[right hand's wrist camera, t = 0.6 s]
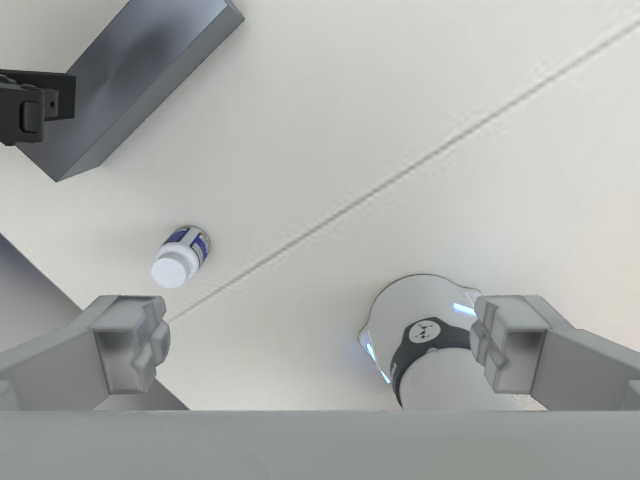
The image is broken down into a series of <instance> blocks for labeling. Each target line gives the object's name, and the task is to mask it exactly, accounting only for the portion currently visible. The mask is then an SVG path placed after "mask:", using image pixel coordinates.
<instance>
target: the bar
mask: <svg viewBox="0 0 640 480" xmlns="http://www.w3.org/2000/svg"><path fill="white" fill-rule="evenodd" d="M244 20H245V18H244V17H243V16H242V14H241V13H240V12H239V10H238V9H237V8H236V7H235V5H234V4H233V3H232V2H231V0H130V1H129V2H128V3H127V4H126V5H125V6H124V8H123V9H122V10H121V11H120V12H119V13H118V14H117V15H116V17H115V18H114V19H113V20H112V21H111V22H110V23H109V25H108V26H107V27H106V28H105V29H104V30H103V31H102V32H101V34H100V35H99V36H98V37H97V38H96V39H95V40H94V41H93V43H92V44H91V45H90V46H89V47H88V48H87V49H86V50H85V52H84V53H83V54H82V55H81V56H80V57H79V58H78V60H77V61H76V62H75V63H74V64H73V65H72V66H71V67H70V69H69V70H68V71H67V72H66V73H65V74H69V75H72V76H76V96H75V116H74V118H72V119H64V120H55V121H46V122H44V141H43V142H35V143H26V142H16V145H15V146H16V147H17V148H18V149H20V150H21V151H22V152H23V153H24V154H25V155H26V156H27V157H28V158H30V159H31V160H32V161H33V162H34V163H35V164H36V165H37V166H38V167H39V168H41V169H42V170H43V171H44V172H45V173H46V174H47V175H48V176H49V177H50V178H52V179H53V180H54V181H55V182H59V181H62V180H64V179H67V178H69V177H72V176H75V175H77V174H80V173H82V172H85V171H88V170H90V169H93V168H96V167H98V166H99V165H100V164H101V163H102V162H103V161H104V160H105V159H106V158H107V157H108V156H109V155H110V154H111V153H112V152H113V151H114V150H115V149H116V148H117V147H118V146H119V145H120V144H121V143H122V142H123V141H124V140H125V139H126V138H127V137H128V136H129V135H130V134H131V133H132V132H133V131H134V130H135V129H136V128H137V127H138V126H139V125H140V124H141V123H142V122H143V121H144V120H145V119H146V118H147V117H148V116H149V115H150V114H151V113H152V112H153V111H154V110H155V109H156V108H157V107H158V106H159V105H160V104H161V103H162V102H163V101H164V100H165V99H166V98H167V97H168V96H169V95H170V94H171V93H172V92H173V91H174V90H175V89H176V88H177V87H178V86H179V85H180V84H181V83H182V82H183V81H184V80H185V79H186V78H187V77H188V76H189V75H190V74H191V73H192V72H193V71H194V70H195V69H196V68H197V67H198V66H199V65H200V64H201V63H202V62H203V61H204V60H205V59H206V58H207V57H208V56H209V55H210V54H211V53H212V52H213V51H214V50H215V49H216V48H217V47H218V46H219V45H220V44H221V43H222V42H223V41H224V40H225V39H226V38H227V37H228V36H229V35H230V34H231V33H232V32H233V31H234V30H235V29H236V28H237V27H238V26H239V25H240V24H241V23H242V22H243V21H244Z"/></svg>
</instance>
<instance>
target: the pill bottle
mask: <svg viewBox="0 0 640 480" xmlns="http://www.w3.org/2000/svg"><path fill="white" fill-rule="evenodd" d="M209 250H210V243H209V239H208V237H207V236H206V235H205V233H203V232H202V231H201V230H200V229H198V228H195V227H191V226H185V227H181V228H179V229H177V230H176V231H175V232H174V233H173V234H172V235H171V236H170V237H169V238H168V239H167V240H166V242H165V243H164V244H163V245H162V246H161V247H160V248H159V249H158V251H157V252H156V254H155V258H154V264H153V265H152V268H151V275H152V277H153V279H154V281H155V282H156V283H157V284H158V285H160V286H162V287H164V288H168V289H173V288H177V287H179V286H181V285H182V284H183V283H184V282H185V281H188V280H190V279H191V278H192V277H194V275H195V274H196V273H197V271H198V270H199V268H200V267H201V265H202V263H203V262H204V260H205V258H206V257H207V255H208V253H209Z"/></svg>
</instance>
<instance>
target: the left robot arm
mask: <svg viewBox="0 0 640 480" xmlns="http://www.w3.org/2000/svg"><path fill="white" fill-rule="evenodd" d="M75 96H76V76H72V75H69V74H65V73H51V72H36V71H20V70H4V69H0V142H2V143H3V144H5V146H14V145H16V142H26V143H35V142H43V141H44V122H46V121H55V120H64V119H72V118H74V116H75Z"/></svg>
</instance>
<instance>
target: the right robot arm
mask: <svg viewBox="0 0 640 480" xmlns="http://www.w3.org/2000/svg"><path fill="white" fill-rule="evenodd" d="M165 313H166V306H165V301H164V299H163V298H162V297H161V296H138V295H102V296H99V297H98V298H96V299H95V300H94V301H93V302H92V303H91V304H90V305H89V306H88V307H87V308H86V309H85V310H84V311H83V312H82V313H81V314H79V315H78V316H77V317H76V318H75V319H74V320H73V321H72V322H71V323H70V324H69V325H68V326H67V327H66V328H65V329H57V330H54V331H52V332H49V333H47V334H45V335H42V336H40V337H37V338H35V339H33V340H30V341H28V342H25V343H23V344H20V345H18V346H16V347H13V348H11V349H8V350H6V351H3V352H1V353H0V480H640V353H639V352H636V351H634V350H632V349H629V348H627V347H624V346H622V345H620V344H617V343H615V342H612V341H610V340H607V339H605V338H603V337H600V336H598V335H595V334H593V333H591V332H588V331H586V330H583V329H575V328H574V327H573V326H572V325H571V324H570V323H569V322H568V321H567V320H566V319H565V318H564V317H563V316H562V315H561V314H560V313H558V312H557V311H556V310H555V309H554V308H553V307H552V306H551V305H550V304H549V303H548V302H547V301H546V300H545V299H544V298H543V297H542V296H539V295H508V296H482V294H481V293H480V291H478V290H475V289H471V288H463V287H459V286H457V285H455V284H454V283H452V282H450V281H449V280H447V279H444V278H442V277H438V276H434V275H414V276H409V277H406V278H403V279H401V280H398V281H396V282H394V283H393V284H391V285H390V286H388V287H387V288H386V289H385V290H384V291H383V292H382V293H381V294H380V295H379V296H378V298H377V299H376V301H375V302H374V304H373V306H372V309H371V313H370V317H369V320H368V323H367V324H366V326H365V327H364V328H363V329H362V331H361V332H360V334H359V336H358V339H359V342H360V344H361V346H362V347H363V348H364V349H365V351H366V352H367V353H368V354H369V355H370V357H371V358H372V359H373V360H374V361H375V363H376V366H377V368H378V370H379V371H381V372H382V374H383V376H384V377H385V379H386V381H387V383H390V382H391V383H392V387H393V391H394V394H396V398H397V400H398V403H399V404H400V406H401V407H402V408H403V411H91V410H92V409H93V408H95V407H96V406H97V405H99V404H100V403H101V402H102V401H104V400H105V399H106V398H108V397H109V395H111V394H145V393H146V392H147V390H148V388H149V386H150V385H151V383H152V381H153V379H154V378H155V376H156V368H155V367H156V366H158V365H160V364H161V363H163V362H164V360H165V358H166V356H167V354H168V350H169V346H170V329H169V325H168V324H167V323H166V322H165V321H164V320H163V319H162V317H163V316H164V314H165ZM370 344H371V345H370ZM512 394H528V395H531V397H532V398H534V399H535V400H536V401H538V402H539V403H540V404H542V405H543V406H544V407H546V408H547V409H548V410H550V411H524V410H523V409H522V408H521V406H520V405H519V404H518V402H517V401H516V400H515V399H514V397H513V396H512Z"/></svg>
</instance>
